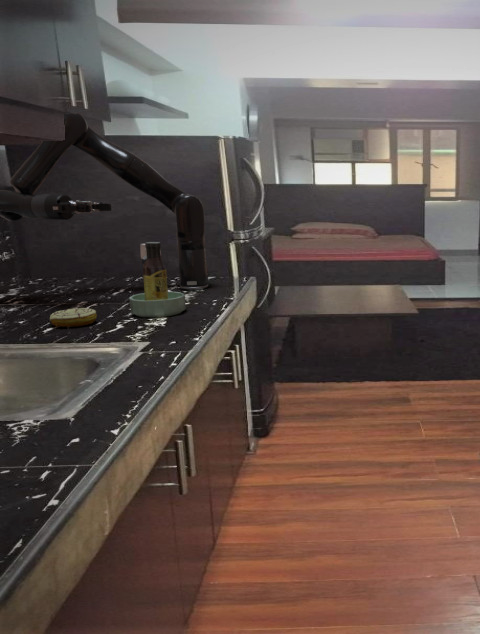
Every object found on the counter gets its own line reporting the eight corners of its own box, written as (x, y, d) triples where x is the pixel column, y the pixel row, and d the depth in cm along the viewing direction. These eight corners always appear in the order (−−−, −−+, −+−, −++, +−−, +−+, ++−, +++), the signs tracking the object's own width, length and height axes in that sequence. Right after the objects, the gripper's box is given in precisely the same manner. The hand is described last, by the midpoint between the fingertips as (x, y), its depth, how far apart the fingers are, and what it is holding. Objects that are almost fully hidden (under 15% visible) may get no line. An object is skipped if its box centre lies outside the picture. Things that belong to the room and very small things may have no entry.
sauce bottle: (160, 312, 172) (154, 243, 168) (141, 311, 174) (134, 243, 169) (174, 308, 178) (168, 241, 174) (155, 307, 180) (149, 241, 175)
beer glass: (158, 285, 222) (155, 244, 219) (139, 285, 222) (136, 244, 219) (166, 282, 229) (163, 243, 226) (148, 282, 229) (145, 242, 226)
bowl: (152, 306, 185) (150, 290, 184) (195, 308, 182) (194, 292, 181) (119, 316, 171) (117, 299, 169) (166, 319, 168) (165, 301, 167)
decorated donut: (66, 319, 167) (64, 306, 166) (104, 319, 166) (103, 306, 166) (42, 328, 156) (40, 314, 156) (83, 328, 156) (82, 314, 156)
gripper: (31, 194, 172) (81, 195, 169) (69, 193, 186) (115, 194, 183) (35, 220, 174) (84, 222, 171) (72, 218, 188) (118, 219, 185)
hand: (100, 207), depth 177 cm, fingers open, 8 cm apart
